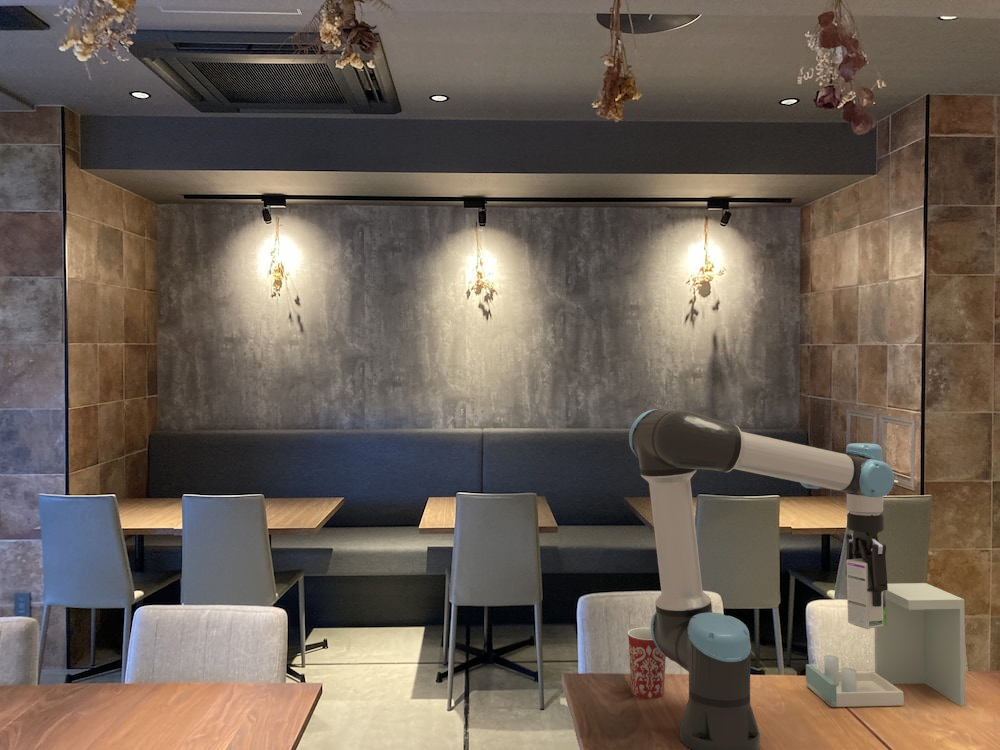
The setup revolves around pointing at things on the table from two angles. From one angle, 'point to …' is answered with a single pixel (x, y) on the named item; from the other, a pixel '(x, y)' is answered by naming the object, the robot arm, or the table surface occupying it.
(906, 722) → the table surface
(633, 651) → the mug
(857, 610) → the syrup box
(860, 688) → the tray
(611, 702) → the table surface
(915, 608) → the white open shelf
